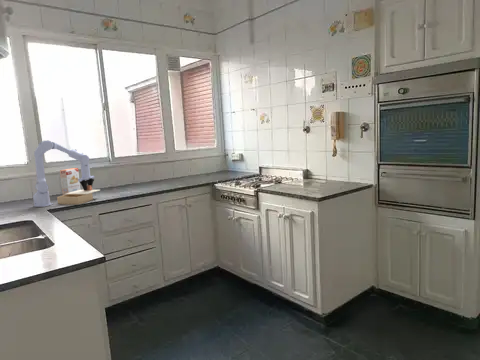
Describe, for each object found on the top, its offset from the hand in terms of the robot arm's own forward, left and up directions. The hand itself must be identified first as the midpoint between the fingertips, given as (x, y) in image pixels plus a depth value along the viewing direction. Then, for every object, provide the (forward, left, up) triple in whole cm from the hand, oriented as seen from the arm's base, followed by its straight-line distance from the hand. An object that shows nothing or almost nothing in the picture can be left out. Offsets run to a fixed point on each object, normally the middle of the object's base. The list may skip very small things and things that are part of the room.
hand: (87, 189), depth 243 cm
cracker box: (-22, +8, -6) cm, 24 cm away
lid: (0, -5, -1) cm, 5 cm away
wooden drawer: (0, -13, -6) cm, 14 cm away
